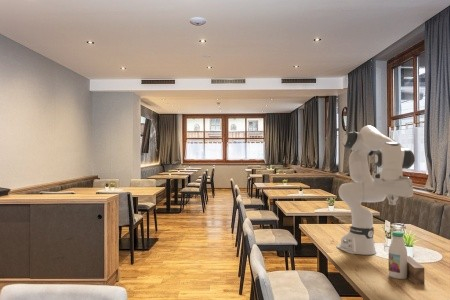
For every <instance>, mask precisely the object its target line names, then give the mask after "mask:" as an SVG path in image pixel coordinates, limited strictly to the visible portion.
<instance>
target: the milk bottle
mask: <svg viewBox="0 0 450 300" xmlns="http://www.w3.org/2000/svg"><path fill="white" fill-rule="evenodd" d="M391 235H392V241H391V243H390V245H389V248H388V276H389V277H390V278H393V279H396V280H406V279H408V277H407V256H408V251H407V247H406V244H405V242H404V232H402V231H392V232H391Z"/></svg>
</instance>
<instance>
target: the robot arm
mask: <svg viewBox="0 0 450 300" xmlns="http://www.w3.org/2000/svg"><path fill="white" fill-rule="evenodd" d="M342 145H343V146H344V148H346V149H348V150H353V151H351V152H350V154H349V157H348V169H349V177H350V178H351V180H352V182H346V183H342V184H340V186H339V187H338V190H337V191H338V193H337V194H338V196H339V198H340V200H341V201H343V202H344V203H345V204H346V205H347V207H348V208H349V210H350V213H351V226H348V229H349V231H348V232H347V233H346V234H344V235H343V236H342V237H341V239H340V244H336V249H338V250H342V251H343V252H345V253H348V254H351V255H355V254H356V255H365V256H369V255H375V254H376V253H377V251H376V246H375V239H374V233H375V232H374V231H375V228H374V218H373V217H374V215H373V213H372V211H371V210H370V209H368V208H366V207H364V206H362V203H380V202H383V201H385V200H386V199H387V200H388V205H391V206H392V205H393V206H396V205H397V202H398V200H399V197H403V198H412V197H413V196H414V187H413V180H412V178H410V177H409V176H403V174H404V173H403V171H404V170H403V169H405V170H409V168H411V167H412V166H413V165H414V164H415V162H416V161H415V160H416V158H415V155H414V152H413V151H412V150H411V149H409V148H406V147H404V146H403V145H402V144H401V143H399V142H397V140H395V139H393V138H391V137H388V136H387V135H385V134H384V133H382V132H381V131H380V130H379V129H378V128H376V127H375V126H374V125H373V126H372V125H371V124H370V125H365V126H363V127H362V128H361V129H360V130H359V131H358V132H357V131H356V130H353V131H347V133H345V134H344V137H343V139H342ZM368 156H369V157H372V156H373V163H374V165H375V166H376V167H377V168H381V170H382V171H381V172H377V173H374V174H373V176H372V175H371V171H370V167H369V161H368ZM392 198H393V199H392Z"/></svg>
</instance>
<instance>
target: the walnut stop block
mask: <svg viewBox="0 0 450 300" xmlns="http://www.w3.org/2000/svg"><path fill="white" fill-rule="evenodd" d="M407 279H409V280H410V282H412V283H413V284H414V285H425V267H423V265H421V263H419V262H417V261H416V260H415V259H414V258H413V257H412V256H410V255H409V256H408V255H407Z"/></svg>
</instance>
